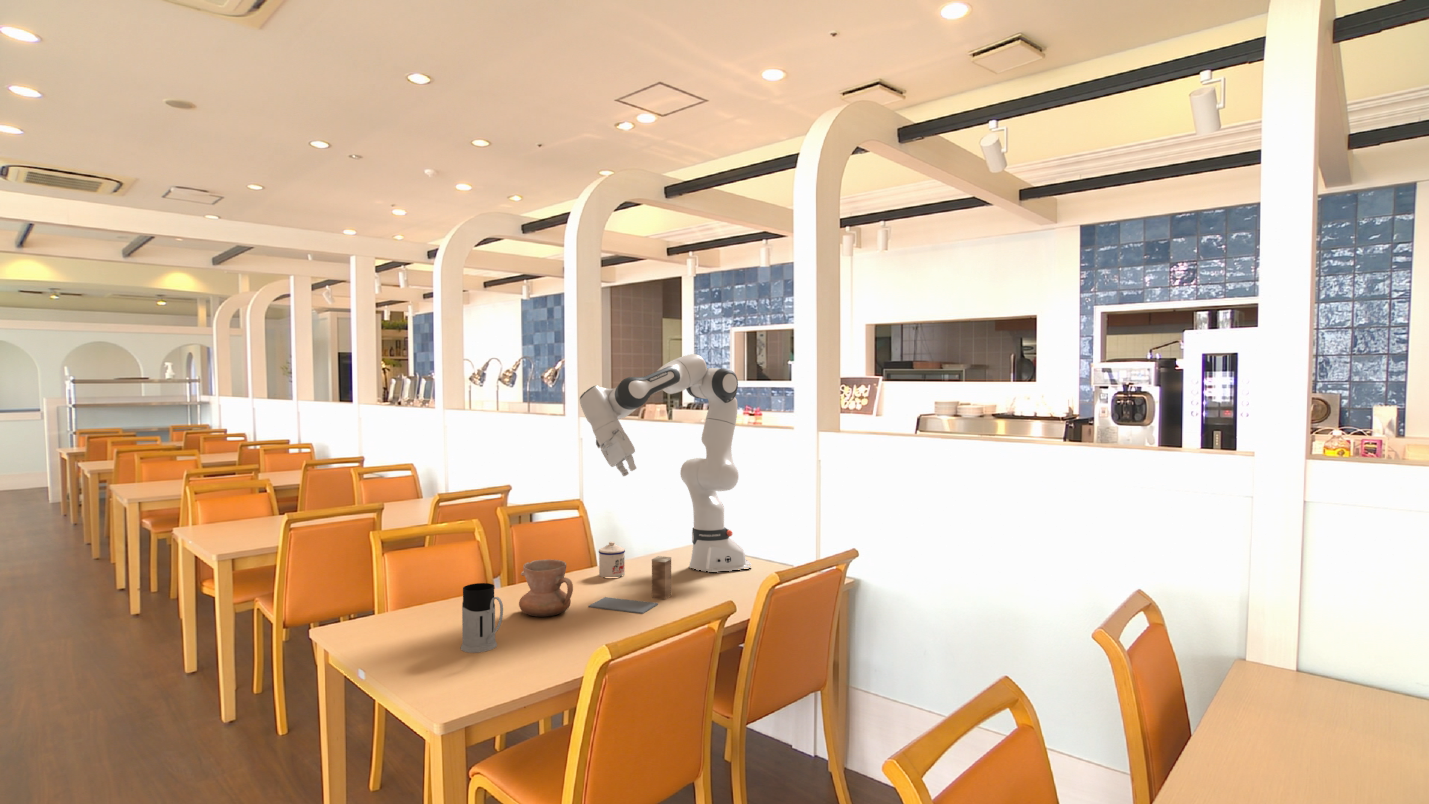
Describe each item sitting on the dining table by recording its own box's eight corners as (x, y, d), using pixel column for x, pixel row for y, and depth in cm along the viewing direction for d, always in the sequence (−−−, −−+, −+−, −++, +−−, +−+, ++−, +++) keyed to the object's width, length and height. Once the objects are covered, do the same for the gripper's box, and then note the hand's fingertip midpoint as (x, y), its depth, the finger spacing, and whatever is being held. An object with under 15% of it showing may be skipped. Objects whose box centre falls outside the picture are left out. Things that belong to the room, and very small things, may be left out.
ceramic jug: (504, 615, 214) (504, 565, 214) (539, 601, 227) (539, 555, 227) (553, 626, 206) (554, 574, 205) (587, 611, 218) (587, 563, 218)
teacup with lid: (615, 580, 253) (615, 545, 253) (593, 577, 257) (593, 543, 257) (634, 572, 264) (634, 539, 264) (612, 569, 268) (612, 537, 268)
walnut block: (651, 597, 232) (651, 559, 232) (658, 594, 236) (658, 556, 236) (665, 599, 230) (665, 560, 230) (671, 595, 235) (671, 557, 234)
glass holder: (484, 638, 195) (483, 580, 194) (517, 650, 186) (517, 589, 185) (453, 647, 188) (453, 587, 188) (486, 660, 179) (486, 597, 178)
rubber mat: (588, 607, 222) (588, 605, 222) (605, 598, 231) (605, 597, 231) (643, 613, 216) (643, 612, 216) (658, 604, 225) (658, 603, 225)
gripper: (626, 422, 232) (647, 462, 231) (611, 437, 251) (630, 474, 250) (609, 430, 230) (629, 471, 229) (594, 445, 248) (613, 482, 247)
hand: (630, 472), depth 239 cm, fingers open, 8 cm apart
